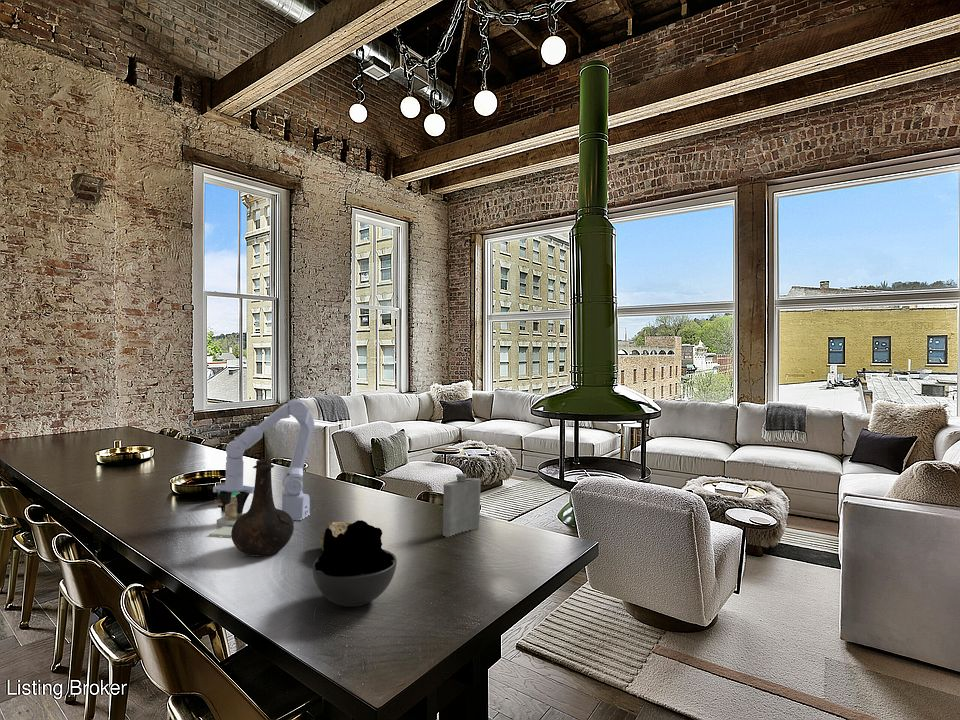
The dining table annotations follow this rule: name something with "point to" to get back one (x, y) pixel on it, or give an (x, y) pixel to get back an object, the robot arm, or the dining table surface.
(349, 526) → the bowl of black rocks
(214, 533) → the ceramic tile
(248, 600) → the dining table surface
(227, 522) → the white flat frame
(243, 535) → the glass bottle
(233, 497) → the food container
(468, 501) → the hip flask
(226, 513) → the maple peg
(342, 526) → the rock
